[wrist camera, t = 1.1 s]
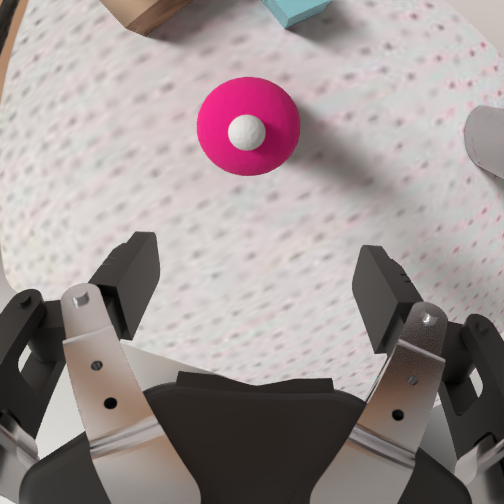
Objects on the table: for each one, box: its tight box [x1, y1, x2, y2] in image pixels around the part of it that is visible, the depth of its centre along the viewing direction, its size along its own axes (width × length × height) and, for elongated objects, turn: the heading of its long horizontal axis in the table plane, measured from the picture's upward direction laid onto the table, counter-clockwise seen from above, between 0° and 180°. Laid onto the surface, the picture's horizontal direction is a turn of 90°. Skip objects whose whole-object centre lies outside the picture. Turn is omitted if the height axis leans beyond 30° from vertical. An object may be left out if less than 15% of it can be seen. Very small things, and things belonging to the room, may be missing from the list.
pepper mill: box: [197, 77, 300, 176], centre depth 21 cm, size 7×7×20 cm
